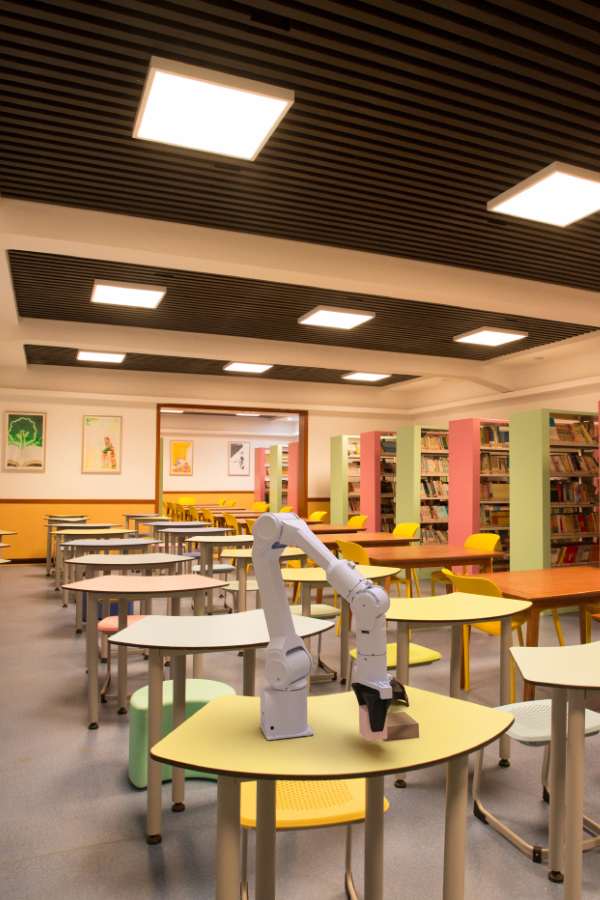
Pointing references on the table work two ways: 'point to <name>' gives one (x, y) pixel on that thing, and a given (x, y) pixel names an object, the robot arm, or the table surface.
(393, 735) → the brown block
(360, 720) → the pink block
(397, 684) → the brown curved piece
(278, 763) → the table surface
